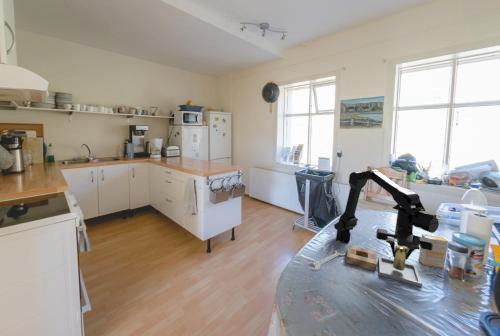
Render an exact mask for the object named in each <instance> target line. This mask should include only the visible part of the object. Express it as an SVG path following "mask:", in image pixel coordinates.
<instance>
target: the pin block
mask: <svg viewBox="0 0 500 336" xmlns="http://www.w3.org/2000/svg"><path fill="white" fill-rule="evenodd" d="M345 262H346V263H347V264H350V265H354V266H358V267H362V268H366V269H369V270H373V271H377V269H378V256H377V251H375V250H371V249H367V248H363V247H360V246H356V245H350V244H349V245H348V250H347V253H346V261H345Z"/></svg>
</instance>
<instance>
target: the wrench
mask: <svg viewBox="0 0 500 336" xmlns="http://www.w3.org/2000/svg"><path fill="white" fill-rule="evenodd" d="M345 256H347V253H345V252H344V251H342V250H339V249H335V250H334V253H333V254H331V255H329V256H327V257H326V258H324V259H322V260H319V261H317V262H312V261H310V262H308V263H307V265H308V266H309V265H310V266H311V265H312V266H314V267H310V270H312V271H314V272H315V271H319V270H320V269H321V266H322V265H324V264H326V263H328V262H329V261H331V260H333V259H335V258H337V257H345Z"/></svg>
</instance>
